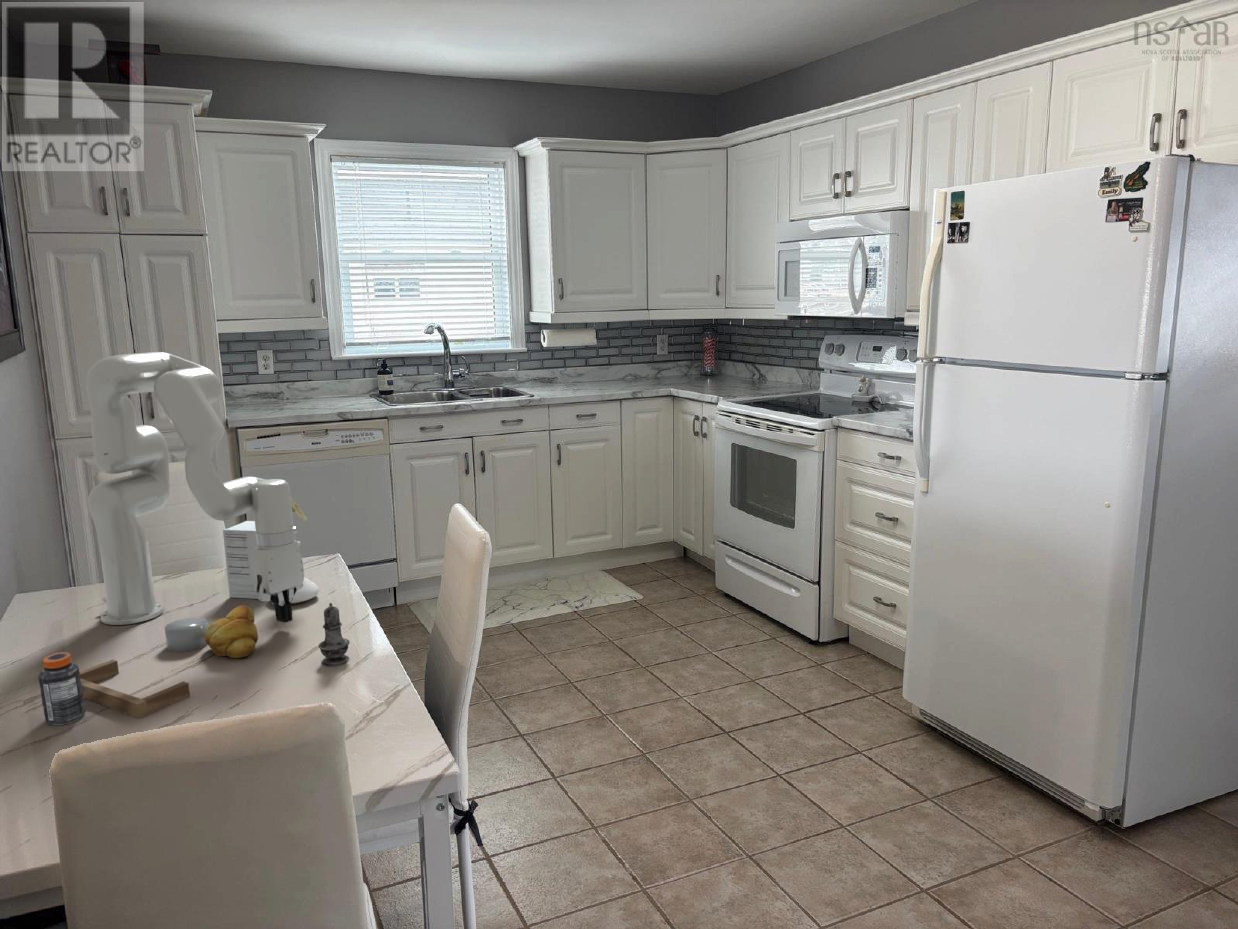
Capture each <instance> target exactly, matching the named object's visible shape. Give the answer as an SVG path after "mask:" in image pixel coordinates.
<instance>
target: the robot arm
mask: <svg viewBox="0 0 1238 929" xmlns="http://www.w3.org/2000/svg"><path fill="white" fill-rule="evenodd" d="M85 387H86V388H85V389H86V394H87V398H88V402H89V407H90V415H91V435H92V436H91V440H92V451H93V452H92V453H93V461H94V463H95V466H96V468H97V469H98V470H99V471H100V472H102V473H104V474H108V475H109V474H110V475H117V474H123V473H127V472H130V471H131V474H128V475H123V476H119V477H116V478H112V479H108V480H105V481H103V482H101V483H99V484H97V485H95V487H93V488H92V489H91V491H90V492H89V495H88V498H87V505H88V509H89V513H90V515H91V519H92V521H93V524H94V528H95V530H96V535H97V540H98V541H97V543H98V547H99V553H100V561H101V569H102V576H103V584H104V591H105V597H103V598H102V604H103V603H104V604H106V608H107V610H105V611H103V612H102V613H101V615H100V621H101V622H102V623H103V624H105V625H111V626H123V625H124V626H125V625H131V624H138V623H142V622H145V621H146V622H147V621H149V620H151V619H155V618H157V617H159V616H160V615H162V613H163V612H164V611H165V608H164V605H163V604H162V603H161V602H157V601H156V597H155V590H154V588H155V587H154V582H153V572H152V571H153V570H152V564H151V563H152V562H151V556H150V547H149V540H148V536H147V533H146V531H145V529H144V528H143V526H142V525H141V524H140V523H139V520H138V519H137V518H139V517H142V516H144V515H147V514H151V513H153V512H157V511H159V510H160V509H162V508H164V506H166V504H167V502H168V501H169V496H170V490H171V489H170V460H169V459H170V458H169V447H168V443H167V441H166V439H165V437H164V435H163V433H162V432H161V431H160V430H159V429H157V428H156V427H154V426H152V425H149V424H140V425H137V413H136V412H137V411H136V408H135V406H134V403H133V402H132V400H131V399H130V398H129V395H133V394H135V395H136V394H143V393H150V392H154V395H155V398H156V399H157V400H158V403H159V405H160V406H161V408H162V410H163V411H164V413H165V415H166V416H167V418H168V420H169V421H170V423H171V425H172V427H173V428H174V430H175V431H176V433H177V434H178V436H179V438H180V439H181V441H182V442H183V445H184V447H185V455H184V456H185V457H184V472H185V480H186V483H187V484H188V485H187V486H188V488H189V490H190V491H191V493H192V495H193V497H194V498H195V499H196V502H197V503H198V504H199V506H200V507H201V509H202V510H203V511H204V513H205V514H206V515H207V516H208V517H210V518H212V519H214V520H215V521H216V520H217V521H223V522H224V521H228V520H231V519H234V518H237V517H239V516H242V515H244V514H245V515H246V514H249V513H252V512H253V517H254V518H253V519H254V520H253V521H255V529H256V538H257V547H256V548H254V553H253V586H254V591H255V592H259V599H258V600H259V601H262V602H270V603H271V604H272V605H274V611H275V612H274V613H275V619H276V621H277V622H279V623H285V624H286V623H288V622H291V621H293V608H292V603H291V602H293V599H294V595H295V593H296V591H298V590H299V589H301V588H302V587H303V581H304V577H305V570H304V563H303V557H302V553H301V549H300V545H298V542H297V541H298V540H296V536H295V535H296V534H297V533H298V528H297V526H294V518H293V517H294V516H293V512H292V505H291V497H292V496H291V489H290V484H289V482H287V481H286V480H285V479H282V478H281V479H280V478H271V479H270V478H269V479H265V478H259V477H257V476H242V477H239V478H235V479H232V480H227V481H225V482H223V481H222V479H221V478H220V476H219V474H218V473H217V471H216V469H215V465H214V461H213V453H214V449H215V447H216V445H217V444H218V442H219V441H220V440H222V438H223V437H224V435H225V433H226V429H225V426H224V424H223V422H222V421H221V420H220V418H219V416H218V415H217V413H216V411H215V410H214V408H213V406H212V404H215V403H216V402H218V400H219V399H220V398H221V395H222V391H223V390H222V389H223V388H222V383H221V381H220V379H219V377H218V376H217V375H216V374H215V372H214V371H212V370H211V369H209V368H207V367H205V366H203V365H201V364H198V363H196V362H194V361H190V360H188V359H185V358H182V357H180V356H177V355H174V354H171V353H168V352H163V351H149V352H139V353H138V352H137V353H135V352H134V353H124V354H123V353H122V354H116V355H112V356H107V357H104V358H101V359H99V360H98V361H96V362H95V363H94V364H93V365H92V366H90V368H89V371H88V372H87V374H86V378H85Z"/></svg>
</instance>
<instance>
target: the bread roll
mask: <svg viewBox="0 0 1238 929" xmlns="http://www.w3.org/2000/svg"><path fill="white" fill-rule="evenodd" d="M258 640H259V634H258V628H257V625H256V624H255V614H254V611H253V610H252V608H251V607H249V606H248V605H243V604H242V605H238V606H237V607H234V608H232V610H231V611H229V613H228V614H226V616H225V617H223V618H219V619H217V620H216V621H214V622H212V623H210V625H208V630H207V631H206V636H205V641H206V644H207V645H206V646H209V648H210V650H212V652H213V653H214V654H215V655H216V656H219V657H220V656H221V657H226V656H227V657H229V658H232V659H235V658H236V659H240V658H244V657H248V656H250V655H252V653H254V651H255V648H256V644H257V643H258Z"/></svg>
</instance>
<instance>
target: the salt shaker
mask: <svg viewBox="0 0 1238 929" xmlns="http://www.w3.org/2000/svg"><path fill="white" fill-rule="evenodd" d="M323 617H324V618H323V620H324V624H323V625H322V628H323V629H324V640H323V641H321V642H320V643H319V644H318V646H317V647H318V648H319V650H320V653H321V654H322V655H323V656H324V658H323V659H322V660H321V665H322V666H325V667H338V666H341V665H342V666H343V665H345V664H347V663H348V662H350V657H349V656H348V655H346V653H347V652H348V650H349V645H350V640H349V639H348V638H345V637H343V635H342V628H341V626H343V623H342V622H341V621H340V620H341V619H340V610H339V608H338V606H337V607H336V606H334V605H333V603H332V602H329V604H328V607H326V608H325V609H324V610H323Z"/></svg>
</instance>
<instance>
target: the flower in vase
mask: <svg viewBox="0 0 1238 929" xmlns="http://www.w3.org/2000/svg"><path fill="white" fill-rule="evenodd" d="M291 505H292V513H295V514H296V515H297V516H298V517H299V518H300V519H301V520H302V521H303V522H307V520H308V517H307V516H306V514H305V512H303V511H302V510H301V509H300V507H299V506H300V505H299V504H298V503H297V502H295V501H294V499H293V498H292V496H291ZM297 542H298V545H299V546H300V545H301V541H300V540H297ZM319 592H320V589H319V586H318V585H317V584H316V583H314V582H313V581H311V580H309V579H308V578H307V577H305V576H304V581H303V587H302V588H301V589H299V590H298V591H296V593H295V595H294V599H293V602H291V604H297V603H302V602H306V601H309V600H311V599H313V598H314V597H316V596H318V593H319Z"/></svg>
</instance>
